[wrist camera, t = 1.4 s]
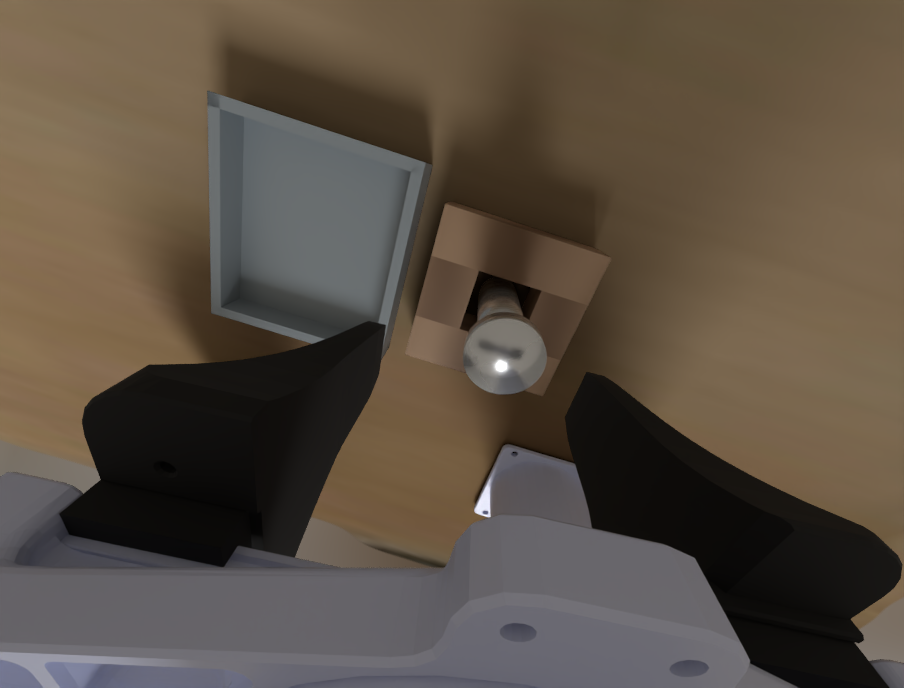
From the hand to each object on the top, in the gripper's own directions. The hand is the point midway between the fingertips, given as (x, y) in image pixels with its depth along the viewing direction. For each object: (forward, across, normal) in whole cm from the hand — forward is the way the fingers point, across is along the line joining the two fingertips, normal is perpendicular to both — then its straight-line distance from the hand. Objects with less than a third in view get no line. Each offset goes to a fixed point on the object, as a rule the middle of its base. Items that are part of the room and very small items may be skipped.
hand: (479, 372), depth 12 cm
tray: (+11, +10, 0) cm, 15 cm away
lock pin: (+11, -1, +1) cm, 11 cm away
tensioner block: (+11, -1, +1) cm, 11 cm away
